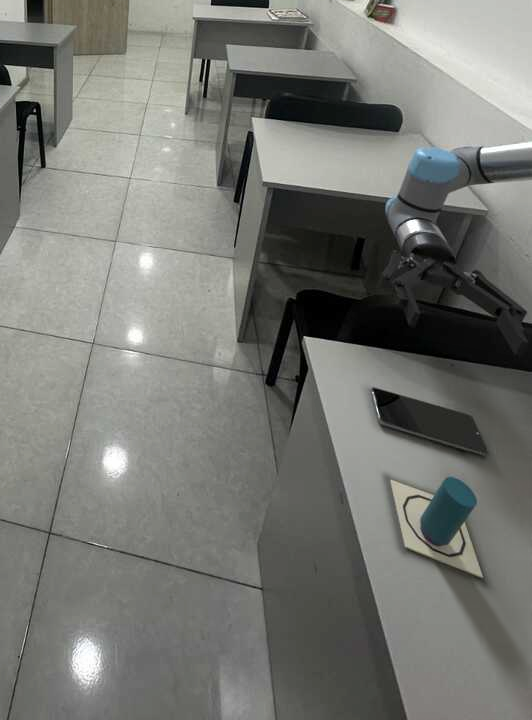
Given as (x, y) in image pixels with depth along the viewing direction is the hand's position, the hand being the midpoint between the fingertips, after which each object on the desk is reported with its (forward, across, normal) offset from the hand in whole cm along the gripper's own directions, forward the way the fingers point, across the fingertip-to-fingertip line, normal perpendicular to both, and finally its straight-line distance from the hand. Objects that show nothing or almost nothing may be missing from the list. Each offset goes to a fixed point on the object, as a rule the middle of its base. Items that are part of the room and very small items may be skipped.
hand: (467, 334), depth 71 cm
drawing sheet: (+14, +1, -23) cm, 27 cm away
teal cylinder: (+16, +2, -23) cm, 28 cm away
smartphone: (-3, -2, -23) cm, 23 cm away
